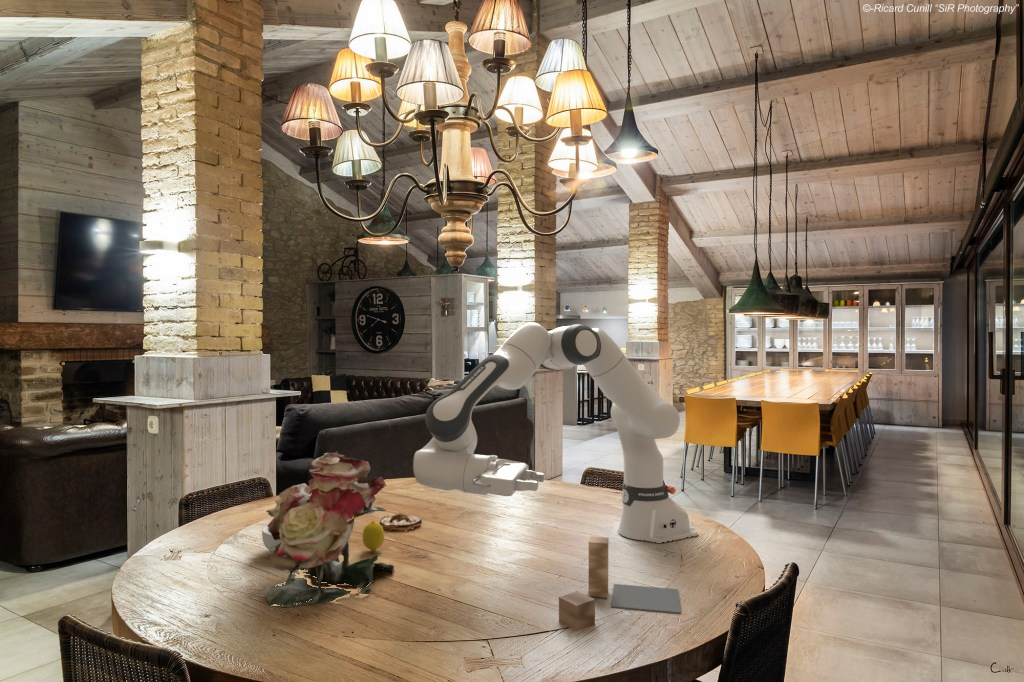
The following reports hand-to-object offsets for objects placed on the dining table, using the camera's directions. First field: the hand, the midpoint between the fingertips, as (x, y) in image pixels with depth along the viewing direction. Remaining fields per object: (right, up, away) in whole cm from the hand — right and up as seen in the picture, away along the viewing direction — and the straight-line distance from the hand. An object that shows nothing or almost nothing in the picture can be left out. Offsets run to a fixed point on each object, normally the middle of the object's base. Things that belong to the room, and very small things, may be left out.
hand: (541, 482), depth 140 cm
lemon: (-43, -24, +24) cm, 55 cm away
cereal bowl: (-62, -24, +23) cm, 71 cm away
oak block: (+12, -24, -3) cm, 27 cm away
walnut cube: (+6, -24, -17) cm, 30 cm away
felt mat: (+22, -24, -5) cm, 33 cm away
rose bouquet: (-49, -24, +1) cm, 54 cm away
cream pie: (-40, -24, +47) cm, 66 cm away
